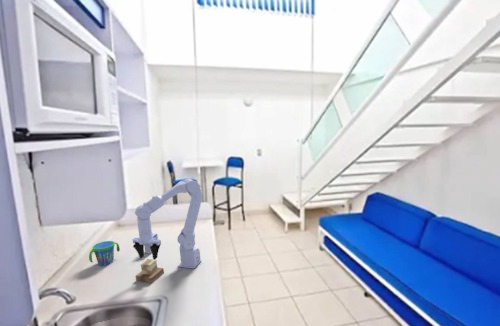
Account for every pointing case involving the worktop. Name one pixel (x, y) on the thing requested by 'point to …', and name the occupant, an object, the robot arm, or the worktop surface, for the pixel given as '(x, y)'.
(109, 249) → the snack cup
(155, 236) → the medicine box
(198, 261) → the robot arm
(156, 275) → the walnut block
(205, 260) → the worktop surface
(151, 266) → the maple cube
